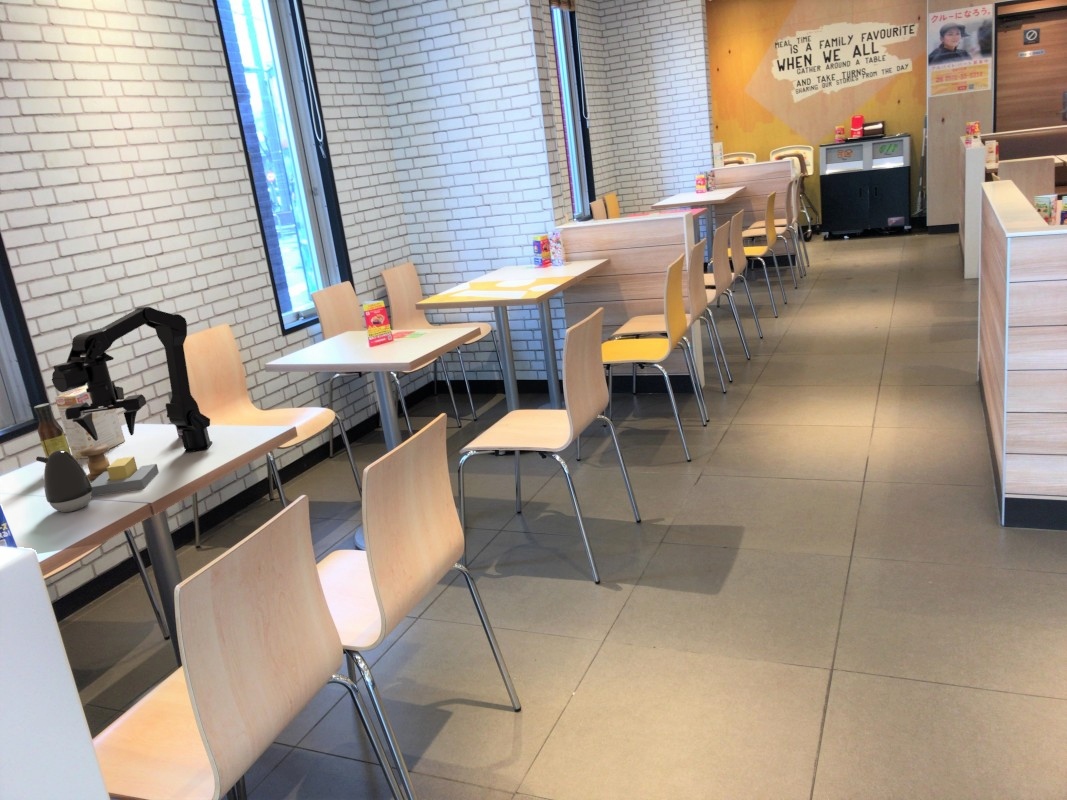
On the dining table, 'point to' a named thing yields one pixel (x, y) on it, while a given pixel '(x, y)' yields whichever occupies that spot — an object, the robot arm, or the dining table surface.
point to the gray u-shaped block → (124, 481)
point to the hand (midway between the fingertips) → (114, 437)
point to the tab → (122, 468)
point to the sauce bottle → (50, 431)
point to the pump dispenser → (65, 482)
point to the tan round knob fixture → (96, 460)
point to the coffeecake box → (102, 421)
